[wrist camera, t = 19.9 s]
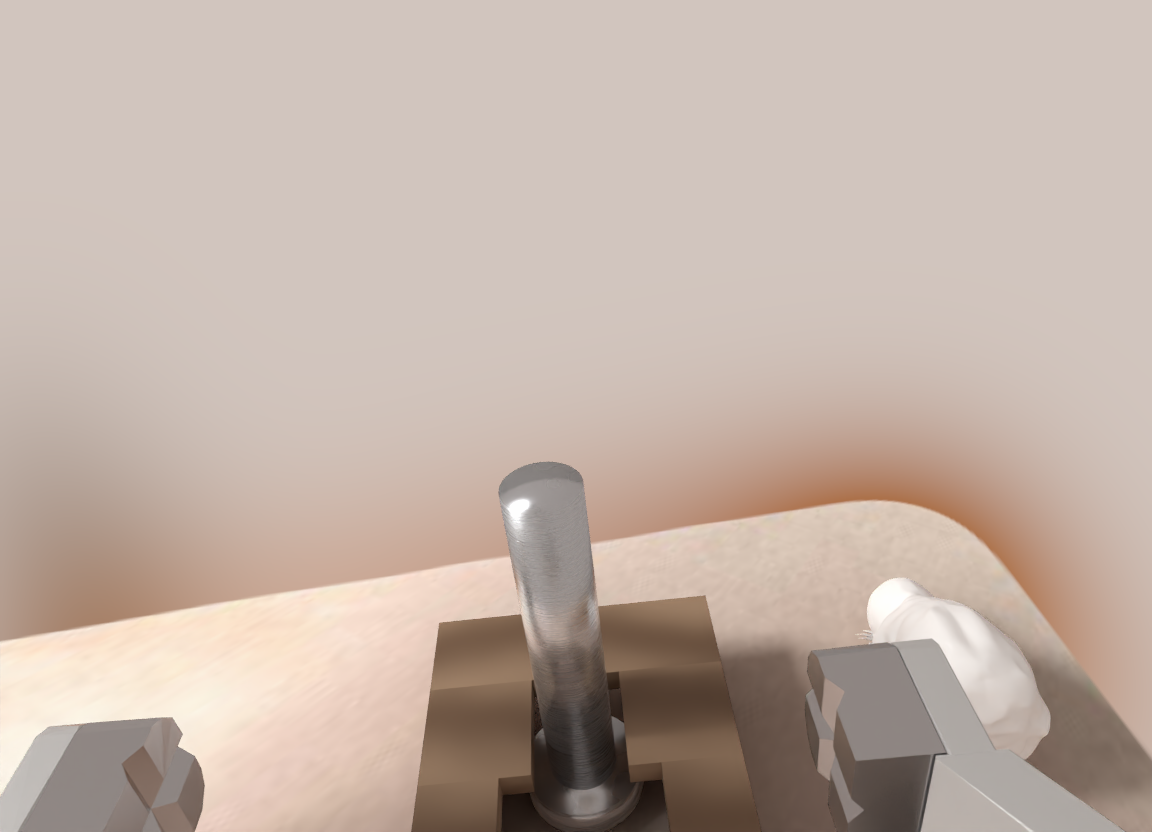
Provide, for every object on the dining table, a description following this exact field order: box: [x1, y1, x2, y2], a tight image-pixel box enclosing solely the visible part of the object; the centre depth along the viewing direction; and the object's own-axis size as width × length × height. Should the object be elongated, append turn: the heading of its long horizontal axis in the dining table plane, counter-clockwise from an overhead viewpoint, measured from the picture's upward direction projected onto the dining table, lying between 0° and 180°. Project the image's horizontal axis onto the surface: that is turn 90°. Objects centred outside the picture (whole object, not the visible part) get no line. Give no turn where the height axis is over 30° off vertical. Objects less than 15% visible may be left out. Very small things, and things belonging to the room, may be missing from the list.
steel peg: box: [499, 462, 643, 832], centre depth 36 cm, size 6×6×18 cm
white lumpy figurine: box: [856, 578, 1051, 760], centre depth 40 cm, size 6×8×12 cm
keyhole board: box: [411, 596, 761, 832], centre depth 37 cm, size 19×14×5 cm
